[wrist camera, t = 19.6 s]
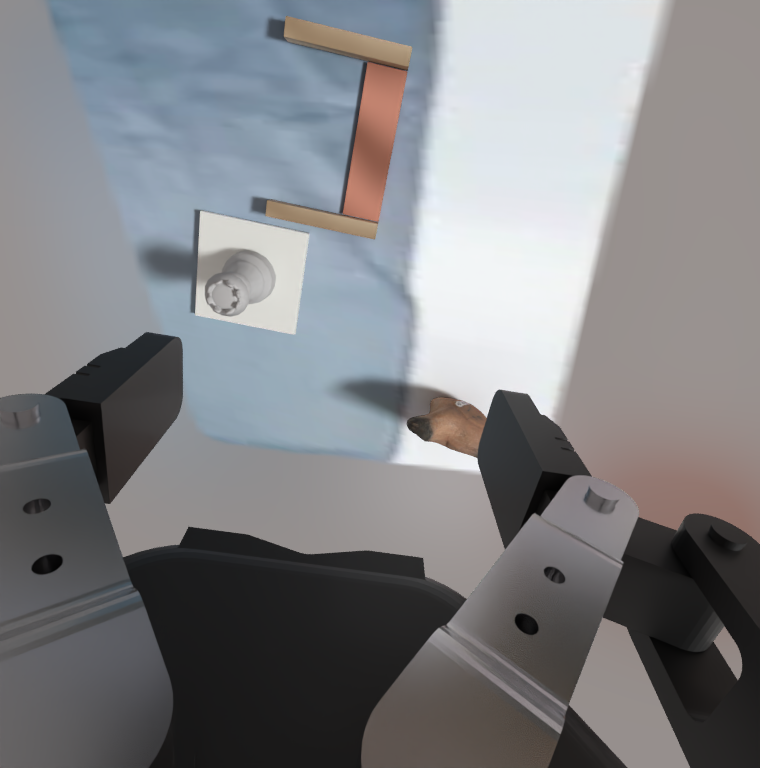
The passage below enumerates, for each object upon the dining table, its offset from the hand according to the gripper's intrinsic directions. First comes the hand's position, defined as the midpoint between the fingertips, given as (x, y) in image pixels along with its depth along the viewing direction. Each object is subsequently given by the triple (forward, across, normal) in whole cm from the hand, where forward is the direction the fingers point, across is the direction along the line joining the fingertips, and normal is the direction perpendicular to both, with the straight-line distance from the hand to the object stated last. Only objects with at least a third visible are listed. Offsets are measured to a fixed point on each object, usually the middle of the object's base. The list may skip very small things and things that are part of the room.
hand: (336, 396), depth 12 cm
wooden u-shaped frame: (+31, +4, -6) cm, 32 cm away
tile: (+31, +9, +6) cm, 33 cm away
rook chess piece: (+30, +9, +6) cm, 32 cm away
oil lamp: (+31, -10, +15) cm, 36 cm away
